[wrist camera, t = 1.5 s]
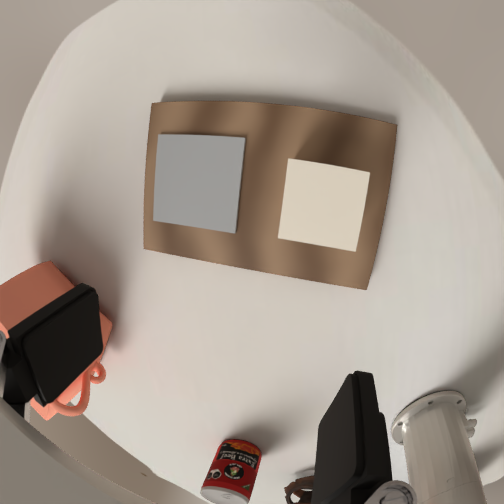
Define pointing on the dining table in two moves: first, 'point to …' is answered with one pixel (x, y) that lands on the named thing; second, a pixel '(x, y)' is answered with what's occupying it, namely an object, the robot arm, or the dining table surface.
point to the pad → (198, 180)
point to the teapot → (31, 300)
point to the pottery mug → (296, 490)
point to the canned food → (232, 473)
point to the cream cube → (323, 204)
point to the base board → (276, 185)
